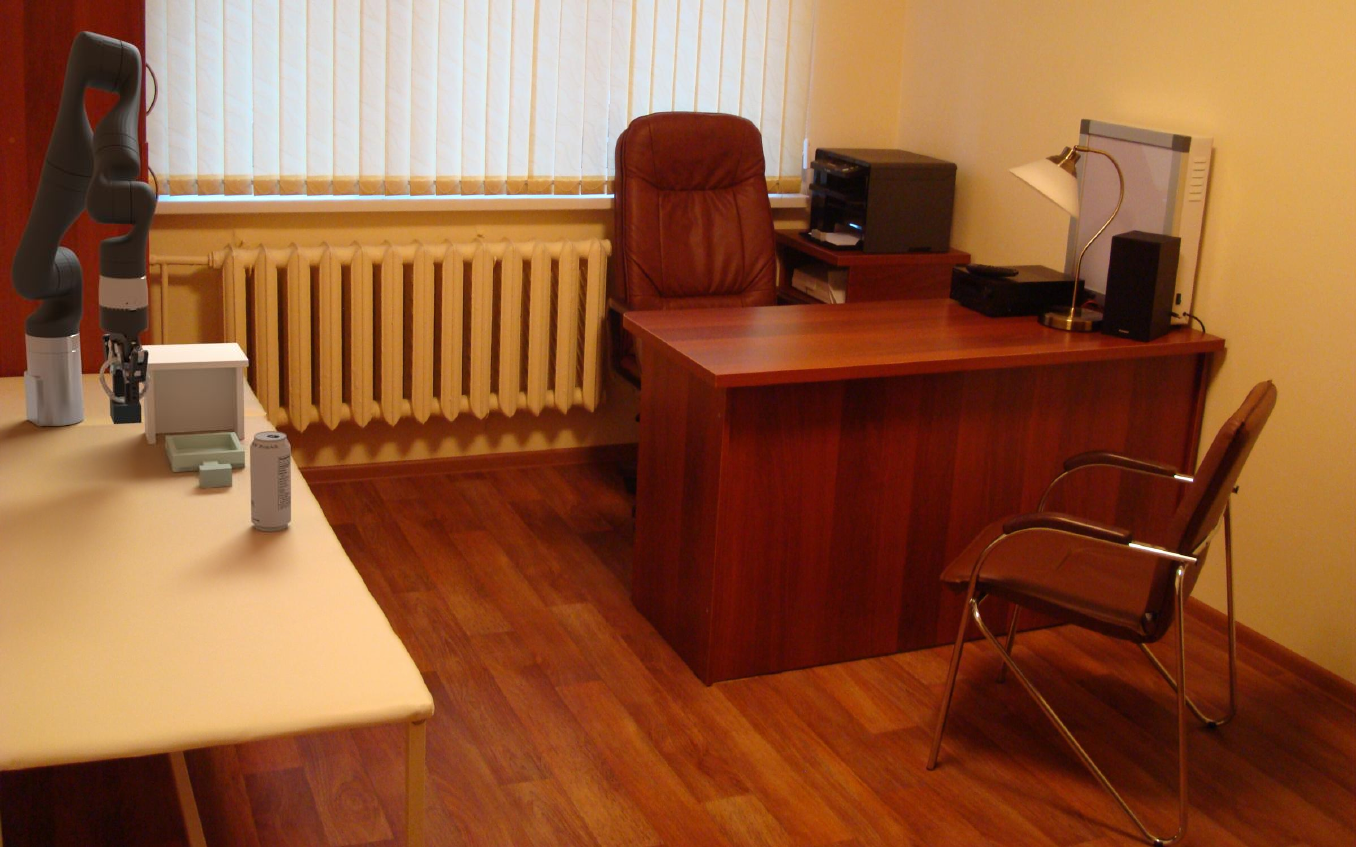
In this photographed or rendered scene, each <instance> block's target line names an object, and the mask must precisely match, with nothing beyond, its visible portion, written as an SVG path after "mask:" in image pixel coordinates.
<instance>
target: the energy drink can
mask: <svg viewBox="0 0 1356 847" xmlns="http://www.w3.org/2000/svg"><path fill="white" fill-rule="evenodd" d="M291 450H292V449H291V444H290V442H289V440H288V438H287V434H286V433H284V432H282V431H278V430H277V431H276V430H275V431H274V430H273V431H272V430H266V431H260V432H259V431H258V432H257V433H255V434H254V435H253V440H252V442H251V443H250V445H249V463H250V464H249V471H250V472H249V473H250V517H251V518H250V521H251V523H252V524H253V526H254V528H255V529H256V530H258V531H261V532H278V531H282V530H285V529H286V528H287V527H288V525H289V523H291V521H292V478H291V477H292V475H291V474H292V469H291V468H292V464H291V463H292V458H291V456H292V455H291V453H292V452H291Z"/></svg>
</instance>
